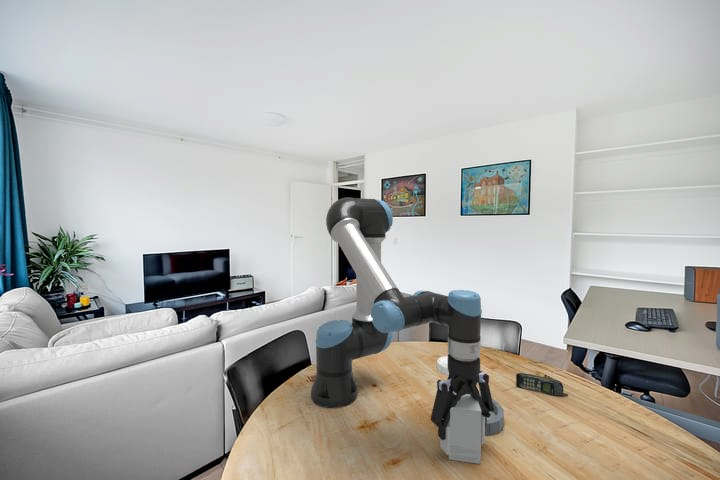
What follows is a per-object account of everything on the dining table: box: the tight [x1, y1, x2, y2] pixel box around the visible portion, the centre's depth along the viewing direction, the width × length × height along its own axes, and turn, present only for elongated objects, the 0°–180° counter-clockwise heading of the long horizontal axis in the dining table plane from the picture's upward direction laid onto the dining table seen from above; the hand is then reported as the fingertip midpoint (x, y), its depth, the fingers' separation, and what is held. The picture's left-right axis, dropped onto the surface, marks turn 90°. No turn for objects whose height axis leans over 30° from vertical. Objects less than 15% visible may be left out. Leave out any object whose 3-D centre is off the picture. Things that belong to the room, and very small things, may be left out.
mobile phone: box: [515, 372, 569, 397], centre depth 103 cm, size 5×3×15 cm
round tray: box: [453, 391, 505, 437], centre depth 89 cm, size 16×16×3 cm
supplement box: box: [447, 392, 482, 465], centre depth 75 cm, size 7×7×13 cm
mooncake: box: [436, 355, 449, 376], centre depth 119 cm, size 12×12×4 cm
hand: (462, 445), depth 75 cm, fingers closed on supplement box, 10 cm apart
